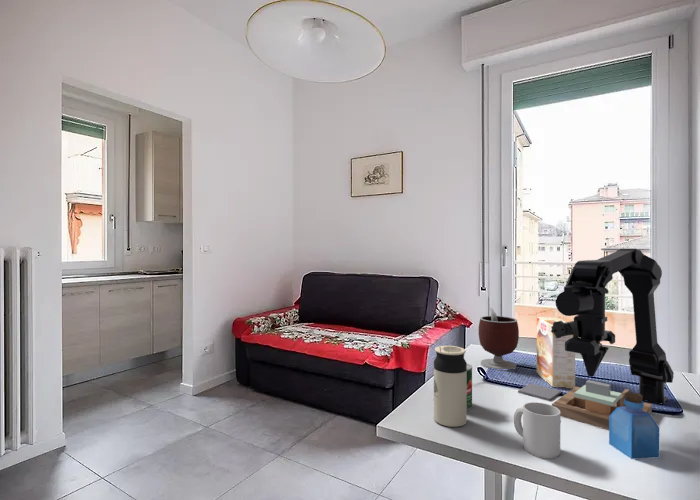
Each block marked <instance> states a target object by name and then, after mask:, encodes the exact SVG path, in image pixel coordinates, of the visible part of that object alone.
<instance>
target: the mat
mask: <svg viewBox="0 0 700 500" xmlns="http://www.w3.org/2000/svg"><path fill="white" fill-rule="evenodd" d="M560 392H561V393H562V390H559V389H556V388H552V387H551V388H550V387H548V386H543V385H539V384H534V383H529V384H527V385H525V386H524V387H522V388H520V389H519V390H518V391H517V393H519V394H522V395H527V396H529V397H534V398H537V399H541V400H545V401H549V402H551V401H552V400H554V399H555V398H556V397H558V396H559V395H560V394H561V393H560Z"/></svg>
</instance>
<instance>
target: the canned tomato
mask: <svg viewBox="0 0 700 500" xmlns="http://www.w3.org/2000/svg"><path fill="white" fill-rule="evenodd" d="M472 408H473V366H472V364H469V363H467V411H469V410H471V409H472Z"/></svg>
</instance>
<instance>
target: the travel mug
mask: <svg viewBox="0 0 700 500" xmlns="http://www.w3.org/2000/svg"><path fill="white" fill-rule="evenodd" d="M434 351H435V353H436V356H435V358H434V360H433V420H434V421H435V422H436V423H437V424H440V425H442V426H445V427H448V428H450V427H451V428H457V427H462V426H464V425H465V424H467V416H468V415H467V411H468V410H467V364H468V363H467V361H466V359H465V354H466V349H465V348H463V347H460V346H456V345H440V346H439V345H438V346H436V347H435V348H434Z"/></svg>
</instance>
